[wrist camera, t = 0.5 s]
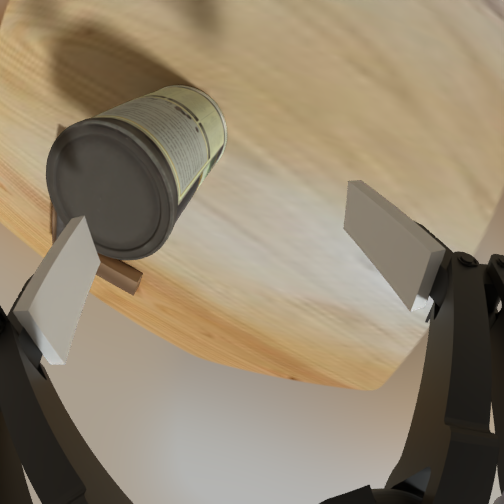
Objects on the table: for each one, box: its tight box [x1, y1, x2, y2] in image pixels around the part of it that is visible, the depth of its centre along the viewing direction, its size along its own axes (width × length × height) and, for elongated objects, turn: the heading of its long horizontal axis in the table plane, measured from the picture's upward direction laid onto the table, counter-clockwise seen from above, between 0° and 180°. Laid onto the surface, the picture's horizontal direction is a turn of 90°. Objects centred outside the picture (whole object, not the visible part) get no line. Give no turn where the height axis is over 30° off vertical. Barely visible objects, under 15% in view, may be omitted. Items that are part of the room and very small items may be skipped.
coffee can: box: [46, 85, 227, 260], centre depth 22 cm, size 10×10×14 cm
